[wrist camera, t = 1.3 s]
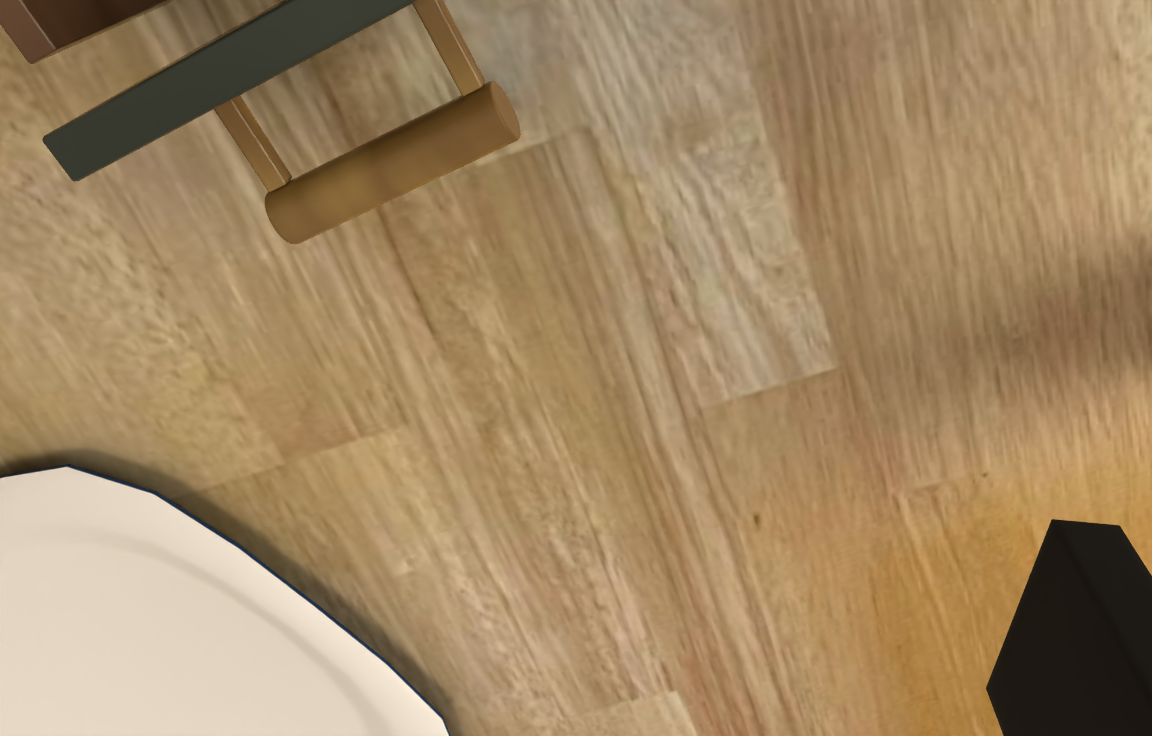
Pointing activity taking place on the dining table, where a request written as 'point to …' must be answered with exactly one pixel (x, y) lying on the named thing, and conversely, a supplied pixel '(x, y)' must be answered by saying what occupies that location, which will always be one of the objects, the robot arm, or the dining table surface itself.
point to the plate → (169, 627)
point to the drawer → (249, 58)
